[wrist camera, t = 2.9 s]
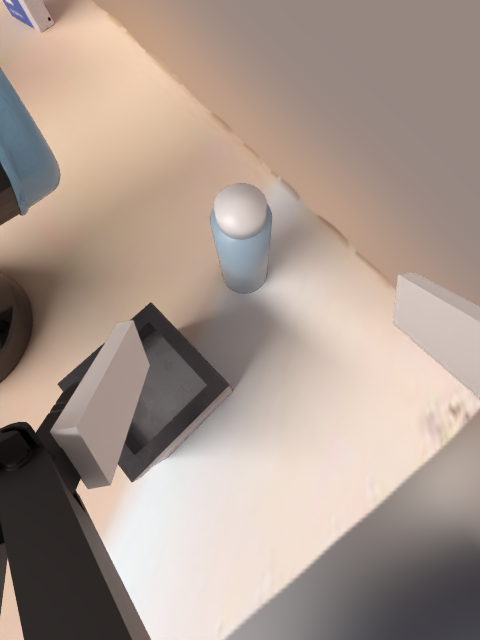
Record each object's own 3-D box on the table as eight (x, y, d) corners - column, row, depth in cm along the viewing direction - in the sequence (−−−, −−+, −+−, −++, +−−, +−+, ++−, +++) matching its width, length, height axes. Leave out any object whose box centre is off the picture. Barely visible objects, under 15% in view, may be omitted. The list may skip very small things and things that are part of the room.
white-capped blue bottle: (213, 273, 33) (193, 205, 22) (244, 245, 34) (240, 167, 23) (244, 302, 32) (239, 246, 21) (275, 272, 33) (287, 203, 22)
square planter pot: (107, 389, 30) (57, 384, 22) (175, 327, 32) (150, 302, 24) (165, 461, 28) (132, 482, 20) (236, 390, 29) (229, 385, 22)
